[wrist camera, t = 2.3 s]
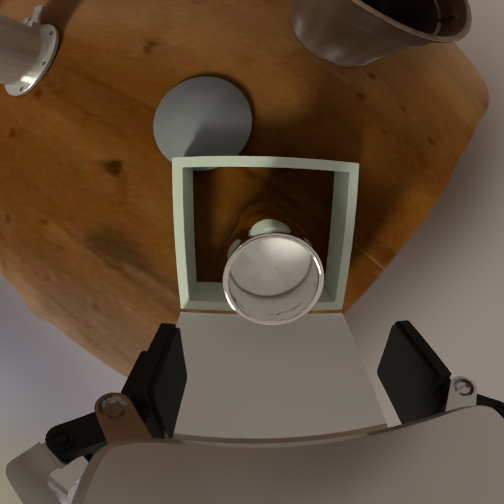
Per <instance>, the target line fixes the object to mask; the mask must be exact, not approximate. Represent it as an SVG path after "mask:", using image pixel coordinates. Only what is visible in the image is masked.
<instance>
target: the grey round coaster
mask: <svg viewBox="0 0 504 504" xmlns="http://www.w3.org/2000/svg"><path fill="white" fill-rule="evenodd" d="M153 127H154V136H155V140H156V143H157V145H158V147H159V149H160V151H161V152H162V153H163V155H164V156H165V157H166V158H167V159H168V160H170V161H171V162H172V158H175V157H198V156H237V155H238V154H239V153H240V152H241V151H242V149H243V148H244V146H245V145H246V143H247V141H248V139H249V136H250V132H251V128H252V114H251V109H250V106H249V103H248V101H247V99H246V97H245V96H244V95H243V93H242V92H241V91H240V90H239V89H238V88H237V87H236V86H234V85H233V84H231V83H230V82H228V81H226V80H223V79H220V78H216V77H196V78H192V79H189V80H186V81H184V82H182V83H180V84H178V85H177V86H175V87H174V88H172V89H171V90H170V91H169V92H168V93H167V94H166V95H165V96H164V98H163V99H162V101H161V102H160V104H159V106H158V108H157V110H156V113H155V117H154V125H153ZM215 168H218V167H192V170H194V171H204V170H210V169H215Z"/></svg>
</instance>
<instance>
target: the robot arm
mask: <svg viewBox="0 0 504 504" xmlns="http://www.w3.org/2000/svg"><path fill="white" fill-rule="evenodd" d="M44 8H45V6H43V5H39V6H36V7H35V9H34V11H33V14H32V18H25V19H24V22H23V23H22V22H19V21H17V20H14V19H12V18H9V17H7V16H4V15H1V14H0V84H5V88H6V91H7V92H8V93H9V94H10V95H14V96H20V95H23V94H26V93H27V92H29V91H30V90H31V89H32V88H33V87H35V86H36V85H37V83H38V82H39V81H40V80H41V79H42V77H43V76H44V75H45V73H46V72H47V70H48V68H49V67H50V65H51V63H52V61H53V59H54V56H55V54H56V51H57V48H58V43H59V33H58V30H57V29H56V27H54V26H52V25H50V24H43V25H41V20H40V18H41V16H42V14H43V11H44ZM377 374H378V377H379V379H380V381H381V383H382V384H383V386H384V388H385V390H386V392H387V394H388V396H389V398H390V400H391V403H392V405H393V407H394V409H395V411H396V413H397V415H398V417H399V419H400V421H401V423H402V424H401V425H398V426H394V427H390V428H385V429H381V430H376V431H372V432H367V433H362V434H356V435H351V436H344V437H338V438H331V439H323V440H314V441H303V442H289V443H266V444H240V443H214V442H199V441H188V440H175V439H172V438H173V434H174V430H175V426H176V422H177V418H178V413H179V409H180V406H181V402H182V398H183V394H184V390H185V386H186V382H187V370H186V365H185V359H184V352H183V346H182V339H181V332H180V328H176V326H175V324H167V323H161V325H160V327H159V329H158V331H157V333H156V335H155V337H154V339H153V341H152V343H151V345H150V347H149V349H148V351H142V352H141V353H140V355H139V357H138V359H137V361H136V363H135V365H134V367H133V369H132V371H131V373H130V375H129V377H128V379H127V381H126V383H125V385H124V387H123V389H122V391H121V393H108V394H105V395H103V396H101V397H100V398H99V399H98V400H97V402H96V403H95V407H94V409H95V412H93V413H90V414H88V415H85V416H82V417H80V418H77V419H75V420H71V421H68V422H66V423H63V424H60V425H57V426H55V427H53V428H51V429H50V430H49V431H48V433H47V434H46V439H45V441H46V442H45V443H43V444H42V445H41V443H37V444H36V445H34V446H33V447H32V448H30V449H29V450H27V451H25V452H24V453H22V454H21V455H19V456H18V457H16V458H15V459H13V460H12V461H10V462H9V463H8V465H7V467H6V475H7V477H8V480H9V482H10V483H11V485H12V487H13V488H14V490H15V492H16V493H17V494H18V496H19V498H20V499H21V501H22V502H23V504H70V503H69V501H68V498H67V495H68V491H69V490H70V489H71V488H72V487H73V486H74V485H76V483H75V481H77V480H78V479H79V478H81V479H80V481H79V484H78V486H77V489H76V492H75V495H74V497H73V500H72V503H71V504H504V403H503V402H501V401H498V400H494V399H491V398H488V397H485V396H482V395H479V394H477V387H476V385H475V383H474V382H473V381H472V380H470V379H469V378H467V377H464V376H457V377H455V378H453V379H452V380H451V379H450V376H451V372H450V371H449V370H448V368H447V367H446V366H445V365H444V363H443V362H442V361H441V359H440V358H439V357H438V356H437V354H436V353H435V352H434V351H433V350H432V348H431V347H430V346H429V345H428V343H427V342H426V341H425V340H424V338H423V337H422V336H421V335H420V334H419V332H418V331H417V330H416V329H415V328H414V327H413V326H412V324H411V323H410V322H409V321H407V320H406V321H397V322H396V323H395V325H393V326H392V328H391V331H390V334H389V338H388V340H387V343H386V346H385V349H384V353H383V355H382V358H381V361H380V364H379V366H378V369H377Z"/></svg>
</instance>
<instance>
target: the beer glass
mask: <svg viewBox="0 0 504 504" xmlns="http://www.w3.org/2000/svg"><path fill="white" fill-rule="evenodd" d="M323 285H324V270H323V266H322V263H321V260H320V258H319V256H318V255H317V253H316V250H315V248H314V246H313V244H312V242H311V240H310V239H309V237H308V236H307V234H306V233H305V231H304V230H303V229H302V228H301V227H300V226H299V225H298V224H297V223H296V222H294V221H293V220H291V219H290V218H288V217H287V215H286V213H285V212H284V211H283V209H281V208H280V207H279V206H277V205H276V204H273V203H270V202H256V203H253V204H251V205H249V206H248V207H246V208H245V209H244V210H243V211H242V212H241V214H240V216H239V218H238V221H237V228H236V229H235V230H234V232H233V233H232V235H231V237H230V239H229V242H228V244H227V247H226V251H225V257H224V268H223V290H224V293H225V296H226V299H227V301H228V303H229V304H230V306H231V307H232V308H233V309H234V311H235V312H237V313H238V314H239V315H240V316H241V317H243V318H245V319H246V320H248V321H250V322H253V323H256V324H260V325H266V326H276V325H283V324H287V323H290V322H293V321H295V320H297V319H299V318H301V317H302V316H304V315H305V314H306V313H307V312H309V311H310V310H311V309H312V307H313V306H314V305H315V304H316V302H317V301H318V299H319V297H320V295H321V292H322V289H323Z"/></svg>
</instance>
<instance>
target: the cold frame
mask: <svg viewBox="0 0 504 504" xmlns="http://www.w3.org/2000/svg"><path fill="white" fill-rule="evenodd" d="M225 166H236V167H280V168H300V169H316V170H329V171H334V186H333V202H332V215H331V226H330V237H329V247H328V256H327V265H326V273H325V281H324V285H323V289H322V292H321V295H320V297H319V299H318V301H317V302H316V304H315V305H314V306H313V307H312V309H311V310H339V309H342V306H343V300H344V295H345V289H346V283H347V277H348V270H349V264H350V256H351V249H352V241H353V233H354V224H355V214H356V203H357V190H358V175H359V163H351V162H342V161H332V160H320V159H307V158H291V157H268V156H198V157H175V158H172V180H173V212H174V232H175V248H176V261H177V273H178V284H179V294H180V303H181V308H182V309H204V310H234V309H233V308H232V307H231V306H230V304H229V303H228V301H227V299H226V296H225V293H224V290H223V282H197V275H196V258H195V237H194V207H193V170H192V167H225Z"/></svg>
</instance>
